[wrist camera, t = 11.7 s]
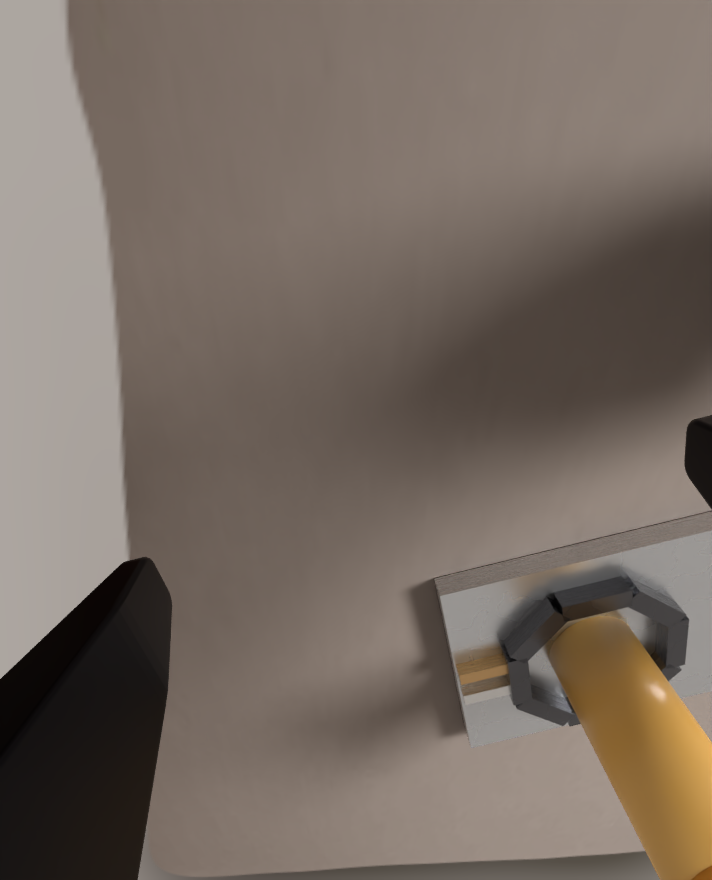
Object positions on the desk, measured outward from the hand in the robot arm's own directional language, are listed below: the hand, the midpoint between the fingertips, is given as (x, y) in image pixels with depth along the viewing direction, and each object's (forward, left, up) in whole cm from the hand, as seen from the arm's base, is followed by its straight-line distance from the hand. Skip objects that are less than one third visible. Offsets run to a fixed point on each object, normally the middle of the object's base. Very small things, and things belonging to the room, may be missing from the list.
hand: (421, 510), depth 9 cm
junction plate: (-8, +20, -13) cm, 25 cm away
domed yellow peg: (-8, +20, -12) cm, 25 cm away
